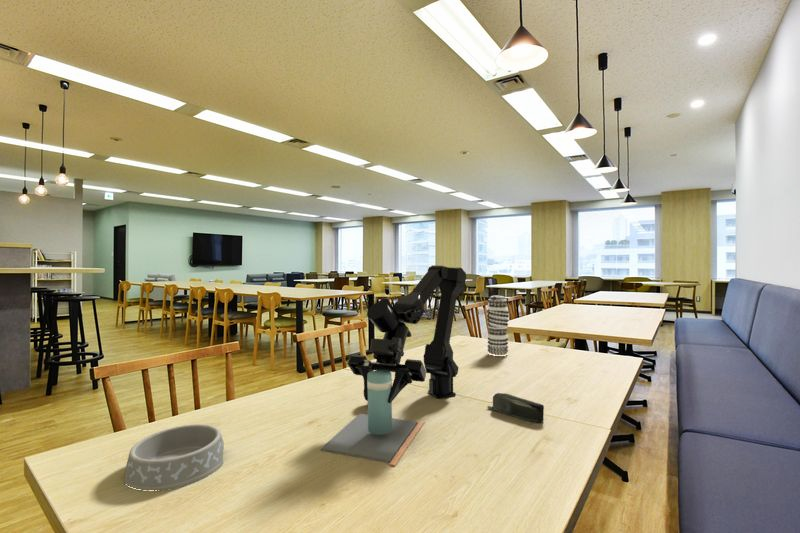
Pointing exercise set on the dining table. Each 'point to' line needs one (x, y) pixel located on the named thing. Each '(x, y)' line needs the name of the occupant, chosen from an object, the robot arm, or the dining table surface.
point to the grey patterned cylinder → (497, 325)
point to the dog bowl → (175, 457)
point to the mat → (370, 439)
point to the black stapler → (518, 407)
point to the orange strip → (406, 444)
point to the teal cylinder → (379, 402)
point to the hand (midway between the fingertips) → (377, 400)
